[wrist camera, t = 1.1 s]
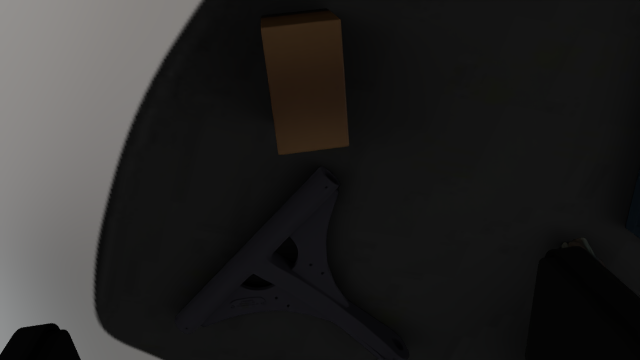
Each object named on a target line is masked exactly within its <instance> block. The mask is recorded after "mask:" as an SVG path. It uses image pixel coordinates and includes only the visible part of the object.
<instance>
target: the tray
mask: <svg viewBox="0 0 640 360" xmlns="http://www.w3.org/2000/svg"><path fill="white" fill-rule="evenodd" d="M626 229H628V230H629V231H630V232H632V233H634V234H635V235H636V236H637V237H639V238H640V170H639V174H638V178H637V182H636V186H635V190H634V194H633V198H632V202H631V206H630V210H629V214H628V218H627V222H626Z"/></svg>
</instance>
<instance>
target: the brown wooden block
mask: <svg viewBox="0 0 640 360" xmlns="http://www.w3.org/2000/svg"><path fill="white" fill-rule="evenodd" d="M261 35H262V42H263V49H264V56H265V63H266V70H267V77H268V84H269V91H270V98H271V105H272V112H273V119H274V126H275V133H276V140H277V147H278V154H279V155H283V154H291V153H299V152H307V151H314V150H322V149H330V148H338V147H346V146H349V135H348V120H347V105H346V90H345V75H344V61H343V46H342V31H341V20H340V19H339V18H338V17H337V16H336V15H334V14H333V13H332V12H331V11H329V10H328V9H318V10H309V11H300V12H291V13H282V14H272V15H263V16H261Z"/></svg>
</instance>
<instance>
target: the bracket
mask: <svg viewBox="0 0 640 360" xmlns="http://www.w3.org/2000/svg"><path fill="white" fill-rule="evenodd" d="M339 186H340V182H339V181H338V179H337V178H336V177H335V176H334V175H333V174H332V173H331V172H330V171H329V170H328V169H326V168H325V167H323V166H320V167H319V168H318V169H317V170H316V171H315V173H314V174H313V175H312V176H311V177H310V178H309V179H308V180H307V181H306V182H305V183H304V184H303V185H302V186H301V187H300V188H299V189H298V190H297V191H296V192H295V193H294V194H293V195H292V196H291V197H290V198H289V199H288V200H287V201H286V203H285V204H284V205H283V206H282V207H281V208H280V209H279V210H278V211H277V212H276V213H275V214H274V215H273V216H272V217H271V218H270V219H269V220H268V221H267V222H266V223H265V224H264V225H263V226H262V227H261V228H260V229H259V230H258V232H257V233H256V234H255V235H254V236H253V237H252V238H251V239H250V240H249V241H248V242H247V243H246V244H245V245H244V246H243V247H242V248H241V249H240V250H239V251H238V252H237V253H236V254H235V255H234V256H233V257H232V258H231V259H230V260H229V262H228V263H227V264H226V265H225V266H224V267H223V268H222V269H221V270H220V271H219V272H218V273H217V274H216V275H215V276H214V277H213V278H212V279H211V280H210V281H209V282H208V283H207V284H206V285H205V286H204V287H203V288H202V289H201V291H200V292H199V293H198V294H197V295H196V296H195V297H194V298H193V299H192V300H191V301H190V302H189V303H188V304H187V305H186V306H185V307H184V308H183V309H182V310H181V311H180V312H179V313H178V314H177V315H176V317H175V324H176V326H177V327H178V329H179V330H180V331H181V332H183V333H185V334H191V333H193V332H194V331H195V330H196V329H197V328H198V327H199V326H202V327H206V326H209V325H211V324H214V323H216V322H219V321H222V320H225V319H228V318H231V317H235V316H239V315H243V314H248V313H255V312H265V311H289V312H296V313H302V314H307V315H311V316H314V317H318V318H321V319H324V320H327V321H332V322H334V323H335V324H336V325H338V326H339V327H340V328H342V329H343V330H344V331H346V332H347V333H348V334H350V335H351V336H352V337H353V338H354V339H355V340H357V341H358V342H359V343H360V344H361V345H363V346H364V347H365V348H366V349H367V350H369V351H370V352H371V353H372V354H373V355H374V356H376V357H377V358H378V359H379V360H407V359H408V358H409V351H408V349H407V347H406V345H405V343H404V342H403V340H402V339H401V338H400V337H399V336H398V335H397V334H396V333H395V332H394V331H392V330H391V329H390V328H388V327H387V326H385V325H384V324H382V323H381V322H379V321H378V320H376V319H375V318H374V317H372V316H371V315H369V314H368V313H366V312H365V311H363V310H362V309H360V308H359V307H357V306H356V305H354V304H353V303H351V302H350V301H348V300H347V299H346V298H345V297H344V295H343V294H342V292H341V291H340V290H339V288H338V287H337V285H336V283H335V281H334V279H333V276H332V274H331V271H330V269H329V266H328V263H327V253H326V237H327V229H328V224H329V220H330V216H331V213H332V210H333V207H334V204H335V202H336V199H337V196H338V190H337V188H338V187H339ZM288 237H290V238H291V239H292V240H293V241H294V243H295V244H296V246H297V249H298V257H297V260H296V262H295V264H293V263H292V262H290V261H289V260H287V259H286V258H284V257H283V256H281V255H280V254H278V253H277V252H276V251H275V250H276V249H277V248H278V247H279V246H280V245H281V244H282V243H283V242H284V241H285V240H286V239H287V238H288ZM252 274H255V275H257V276H259V277H261V278H262V279H264V280H266V281H268V282H270V283H272V285H269V286H266V287H261V288H254V287H249V286H246V285H243V284H242V283H243V282H244V281H245V280H246V279H247V278H248V277H250V276H251V275H252Z"/></svg>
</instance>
